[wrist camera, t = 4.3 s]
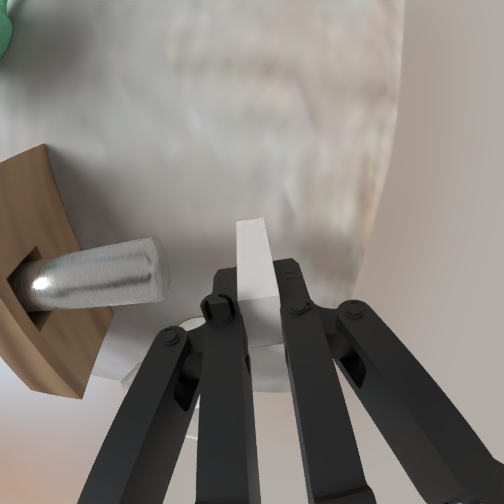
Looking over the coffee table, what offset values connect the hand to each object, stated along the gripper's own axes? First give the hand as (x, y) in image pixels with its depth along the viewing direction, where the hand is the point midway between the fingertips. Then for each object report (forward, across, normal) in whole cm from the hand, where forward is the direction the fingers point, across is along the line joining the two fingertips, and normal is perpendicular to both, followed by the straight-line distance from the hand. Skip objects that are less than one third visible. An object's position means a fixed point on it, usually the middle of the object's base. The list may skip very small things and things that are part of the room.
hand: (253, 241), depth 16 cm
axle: (0, -15, 0) cm, 15 cm away
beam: (+5, -19, 0) cm, 20 cm away
